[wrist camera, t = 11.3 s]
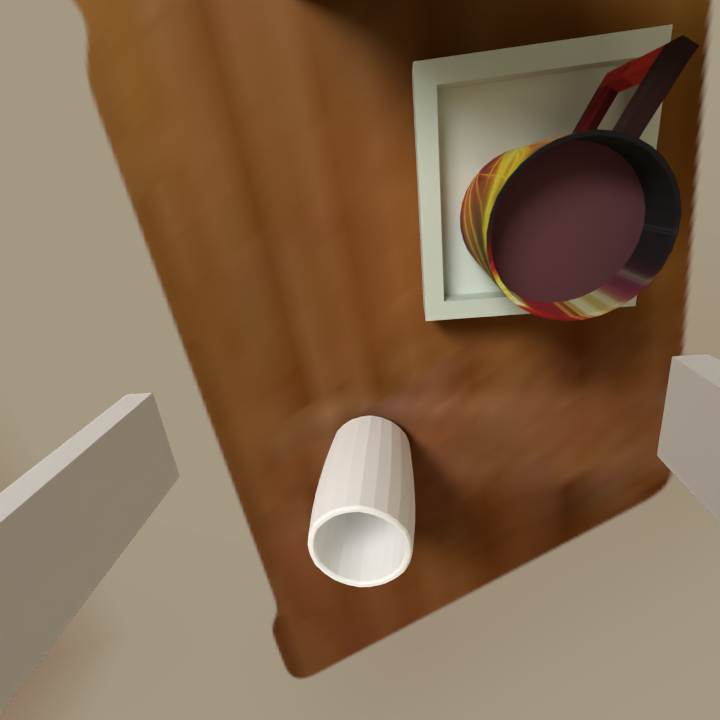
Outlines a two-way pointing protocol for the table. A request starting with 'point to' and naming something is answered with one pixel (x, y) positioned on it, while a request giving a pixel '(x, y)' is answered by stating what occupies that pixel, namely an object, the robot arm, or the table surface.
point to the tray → (501, 141)
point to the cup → (364, 505)
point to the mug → (582, 203)
